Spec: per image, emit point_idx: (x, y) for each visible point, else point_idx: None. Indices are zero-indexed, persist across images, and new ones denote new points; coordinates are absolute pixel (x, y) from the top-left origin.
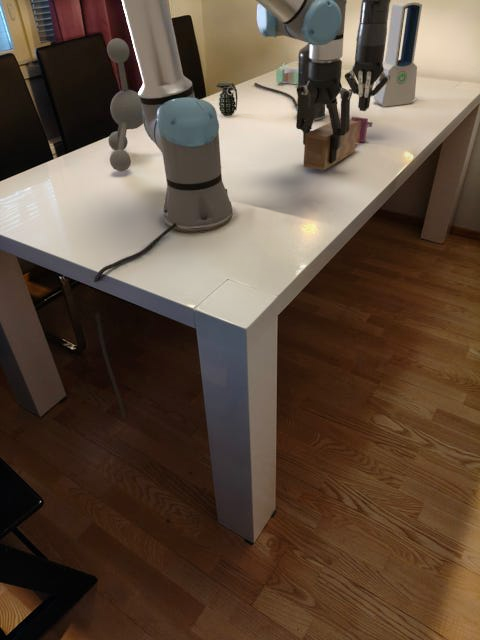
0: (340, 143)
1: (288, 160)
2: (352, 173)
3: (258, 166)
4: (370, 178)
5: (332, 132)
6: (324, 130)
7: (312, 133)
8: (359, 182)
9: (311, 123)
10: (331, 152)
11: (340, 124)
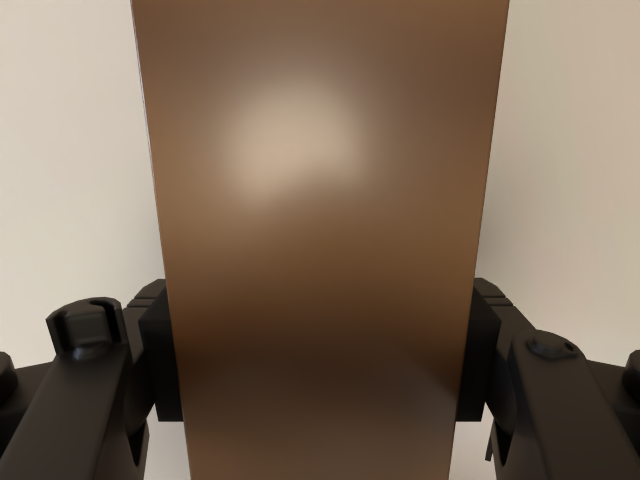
0: (508, 299)
1: (74, 197)
2: (520, 217)
3: (8, 344)
4: (633, 239)
5: (432, 326)
6: (301, 291)
7: (251, 469)
8: (582, 309)
9: (121, 441)
10: None
11: (620, 431)
